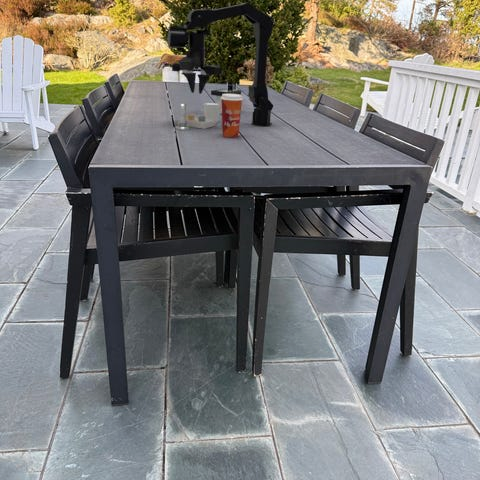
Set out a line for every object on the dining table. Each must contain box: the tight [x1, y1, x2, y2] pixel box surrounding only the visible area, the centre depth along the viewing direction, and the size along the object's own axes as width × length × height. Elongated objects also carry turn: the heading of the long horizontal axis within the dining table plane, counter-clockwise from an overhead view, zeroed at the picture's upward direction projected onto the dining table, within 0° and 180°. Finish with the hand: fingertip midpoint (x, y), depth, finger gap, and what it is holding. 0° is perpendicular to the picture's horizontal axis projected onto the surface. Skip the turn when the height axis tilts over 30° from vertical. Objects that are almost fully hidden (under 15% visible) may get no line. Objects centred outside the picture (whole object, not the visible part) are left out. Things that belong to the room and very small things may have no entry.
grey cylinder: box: [203, 102, 220, 124], centre depth 179 cm, size 7×7×7 cm
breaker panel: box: [187, 114, 216, 130], centre depth 170 cm, size 12×8×4 cm, turn 62°
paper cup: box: [221, 94, 244, 138], centre depth 153 cm, size 8×8×14 cm
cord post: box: [175, 102, 190, 131], centre depth 161 cm, size 5×5×9 cm
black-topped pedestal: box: [210, 81, 242, 115], centre depth 200 cm, size 28×26×13 cm
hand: (196, 93), depth 166 cm, fingers open, 3 cm apart
